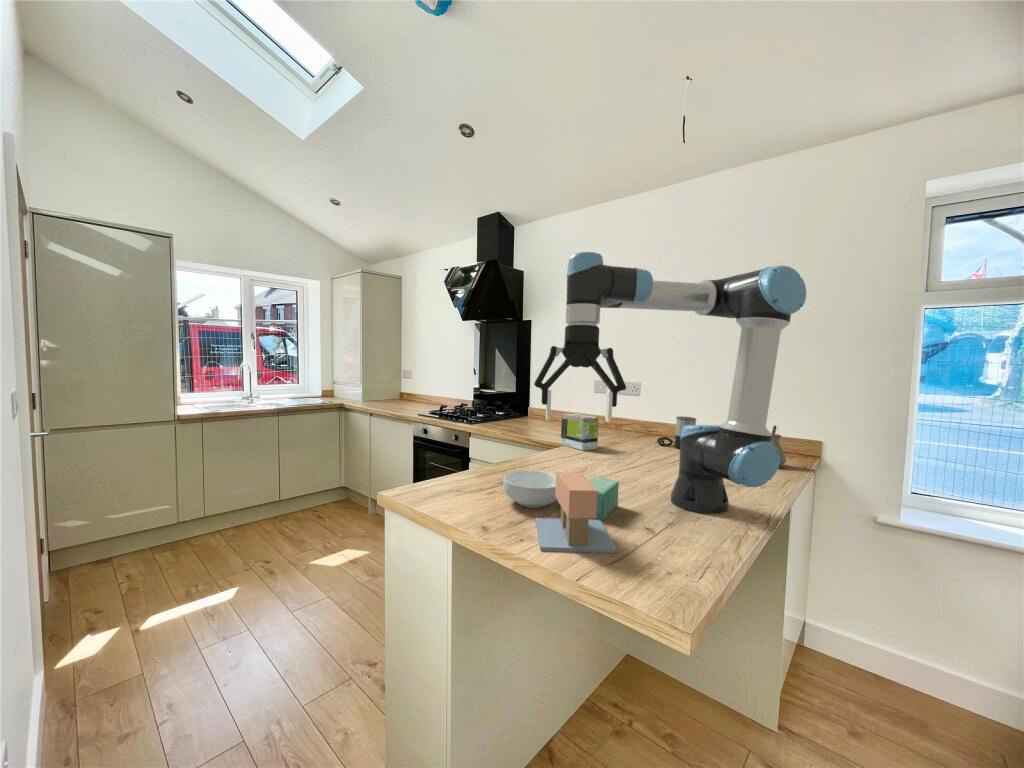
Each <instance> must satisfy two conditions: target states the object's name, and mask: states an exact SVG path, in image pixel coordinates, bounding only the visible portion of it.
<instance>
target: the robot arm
mask: <svg viewBox="0 0 1024 768" xmlns="http://www.w3.org/2000/svg"><path fill="white" fill-rule="evenodd" d="M603 260H604V259H603V255H602V254H600V253H597V252H595V251H579V252H575V253H574V254H572V255H570V257H569V258H568V264H567V272H566V301H565V302H566V306H565V307H566V308H565V323H566V324H567V325H566V326H565V327H564V328H565V329H564V344H563V347H559V346H558V347H557V346H555V345H552V346H550V348H549V355H548V357H547V359H546V361H545V363H544V364H543V366H542V368H541V370H540V371H539V373H538V375H537V377H536V379H535V381H534V382H533V386H535V387H536V388H537V389H538V388H539V389H541V404H542V405H545V420H546V421H551V413H552V410H551V407H552V390H551V389H549V388H551V386H552V385H553V384H554V383H555V382H556V381H557V380H558V379H559V378H560V376H562V374H564V372H565V371H566V370H567V369H569V367H570V366H571V367H573V368H580V367H581V368H589V367H591V368H592V369H593V371H595V374H597V376H598V377H599V378H600V380H601V381H602V382H603V383H604V385H605V386H606V387H607V389H609V391H606V396H605V397H606V398H605V419H604V420H605V422H607V423H612V419H613V418H612V417H613V408H615V407H617V405H618V393H619V392H620V391H621V392H622V391H624V390H626V389H627V386H626V383H625V380H624V378H623V377H622V374H621V372H620V369H619V367H618V365H617V362H616V361H615V358H614V357H615V356H614V349H613V347H607V348H602V349H601V348H600V327H599V326H598V325H599V324H600V322H601V308H602V309H603V308H605V309H631V310H632V309H633V310H654V311H655V310H656V311H657V310H659V311H681V312H694V313H695V314H696V315H698V316H706V317H707V316H708V317H715V318H716V317H717V318H718V317H719V318H724V319H725V318H726V319H735V322H736V323H737V325H738V326H739V327H740V329H741V330H740V336H739V341H738V342H739V343H738V347H737V348H738V349H737V355H736V362H735V369H734V373H733V374H734V375H733V380H732V381H733V382H732V387H731V393H730V394H731V395H730V399H729V407H728V413H727V419H726V420H725V422H723V423H722V424H719V425H718V424H696V425H686V426H684V427H683V428H682V433H681V437H680V440H681V441H680V449H679V462H678V463H679V466H678V467H679V468H678V476H677V479H676V480H675V483H674V485H673V488H672V490H671V493H670V502H671V503H673V504H674V505H675V506H677V507H678V508H681V509H683V510H687V511H690V512H691V511H692V512H695V513H701V514H711V515H712V514H713V515H715V514H716V515H717V514H723V513H726V512H728V511H729V506H730V503H729V502H730V501H729V498H728V494H727V490H726V486H725V482H724V479H726V480H728V481H731V482H732V483H734V484H736V485H741V486H745V487H747V488H748V487H749V488H757V487H761V486H763V485H765V484H766V483H768V482H769V481H771V480H772V478H773V477H775V475H776V473H777V472H778V469H779V468H780V467H779V462H780V456H779V453H778V452H777V449H776V447H775V446H773V445H772V444H771V436H772V434H771V433H772V432H770V431H769V429H768V428H767V421H768V413H769V409H770V401H771V394H772V389H773V383H774V376H775V370H776V365H777V358H778V351H779V346H780V345H779V344H780V338H781V333H782V331H783V329H785V328H787V327H788V326H789V325H790V324H791V323H790V322H791V317H792V315H793V314H795V313H797V312H799V311H800V310H801V308H803V306H804V305H805V302H806V299H807V288H806V287H807V286H806V283H805V280H804V279H803V278H802V276H801V275H800V273H799V272H798V271H797V270H796V269H795V268H793V267H791V266H788V265H776V266H767V267H764V268H763V269H762V268H761V269H758V270H754V271H749V272H744V273H742V274H736V275H735V274H734V275H732V276H729V277H724V278H720V279H719V278H718V279H703V280H701V281H699V282H698V283H697V282H684V281H668V280H667V281H666V280H665V281H664V280H654V278H653V275H652V273H651V272H650V271H649V270H648V269H643V268H638V267H626V266H624V267H623V266H617V265H615V266H614V265H607V264H604V261H603ZM560 354H562V355H563V357H564V358H565V359H564V361H563V362H562V363H561V365H559V367H558V368H557V369H556V370H555V371H554V372H553V373H552V374H551V375H550V376H549V378H547V380H546V381H545V382H544V383H543V381H544V378H545V377H546V375H547V374H548V371H550V368H551V366H552V364H553V363H554V362H555V361H554V360H555V359H556V357H559V355H560ZM600 355H601V356H602V357H603V358H604V359H605V361H606V363H607V365H608V367H609V370H610V372H611V374H612V377H613V378H614V382H615V383H614V382H613V381H612V379H611V378H610V377H609V375H608V374H607V373H606V372H605V370H604V369H603V367H602V366H601V365H600V363H599V362H598V358H599V357H600ZM778 467H779V468H778ZM673 504H672V505H673Z"/></svg>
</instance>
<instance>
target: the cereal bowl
mask: <svg viewBox="0 0 1024 768" xmlns="http://www.w3.org/2000/svg"><path fill="white" fill-rule="evenodd" d="M502 481H503V482H502V484H503V486H502V487H503V490H504V492H505V494H506V495H507V497H508V498H509V499H511V500H512V501H513V502H516V503H518V505H520V506H522V507H525V508H532V509H534V508H537V509H538V508H543V507H545V506H548V505H550V504H553V503H555V502H556V501H558V500H557V499H556V497H555V488H556V474H553V473H550V472H544V471H537V470H516V471H511V472H509V473H506V474H505V475H504V476H503V480H502Z"/></svg>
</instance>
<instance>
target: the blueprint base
mask: <svg viewBox="0 0 1024 768" xmlns="http://www.w3.org/2000/svg"><path fill="white" fill-rule="evenodd" d="M535 527H536V531H537V538H538V543H539V549H540V551H543V552H570V553H571V552H572V553H573V552H574V553H605V554H609V553H610V554H611V553H612V554H617V553H618V552H617V551H618V550H617V547H616V546H615V544H614V542H613V540H612V538H611V537H610V535H609V533H608V530H607V529H606V527H605V526H604V524H603V523H602V520H597V519H592V518H568V517H567V515H566V514H565V512H564V510H563V509H562V507H561V506H560V518H555V517H535Z"/></svg>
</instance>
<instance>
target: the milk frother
mask: <svg viewBox="0 0 1024 768" xmlns="http://www.w3.org/2000/svg"><path fill="white" fill-rule="evenodd" d="M675 418H676V421H675V422H676V423H675V424H676V425H675V436H674V437H675V439H674V440H673V439H671V438H670V437H666V436H660V437H658V438H657V440H656V442H657V444H658V445H659V446H664V447H670V446H672V445H673V444H674V445H673V448H675V449H677V450H680V441H681V440H680V437H681V433H682V428H683V427H684V426H686V425H697V423H696V422H697V418H695V417H692V416H691V417H690V416H676V417H675ZM665 440H666V441H667V442H669V443H665Z"/></svg>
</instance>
